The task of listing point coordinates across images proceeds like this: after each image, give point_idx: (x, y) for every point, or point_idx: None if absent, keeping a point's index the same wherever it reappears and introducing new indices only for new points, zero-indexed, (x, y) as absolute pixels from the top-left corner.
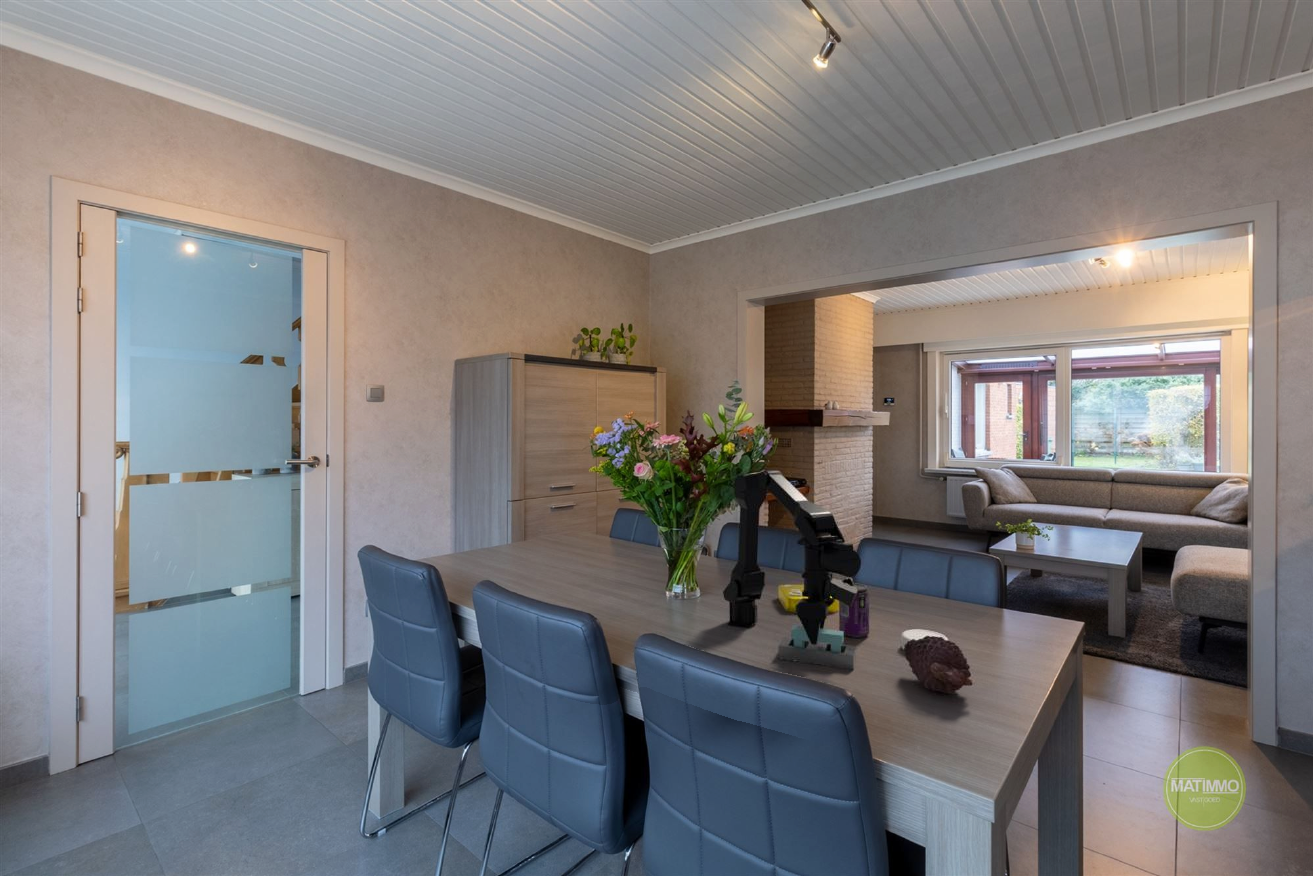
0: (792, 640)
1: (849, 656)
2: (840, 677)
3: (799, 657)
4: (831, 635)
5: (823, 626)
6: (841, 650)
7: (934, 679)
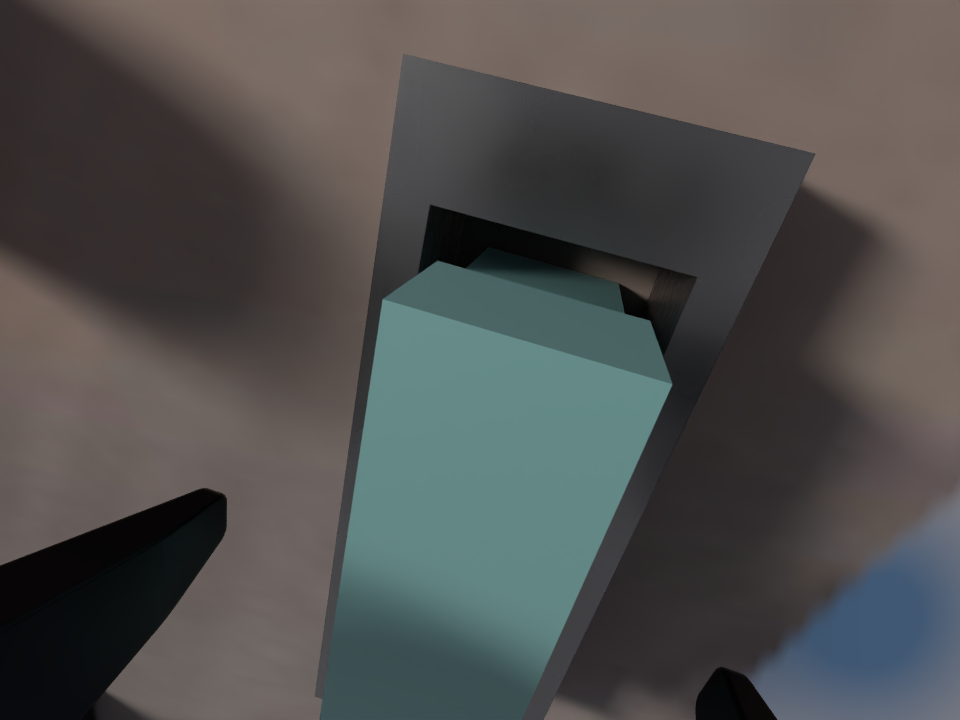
0: None
1: (777, 210)
2: (951, 325)
3: None
4: (601, 537)
5: (175, 524)
6: (438, 254)
7: None
